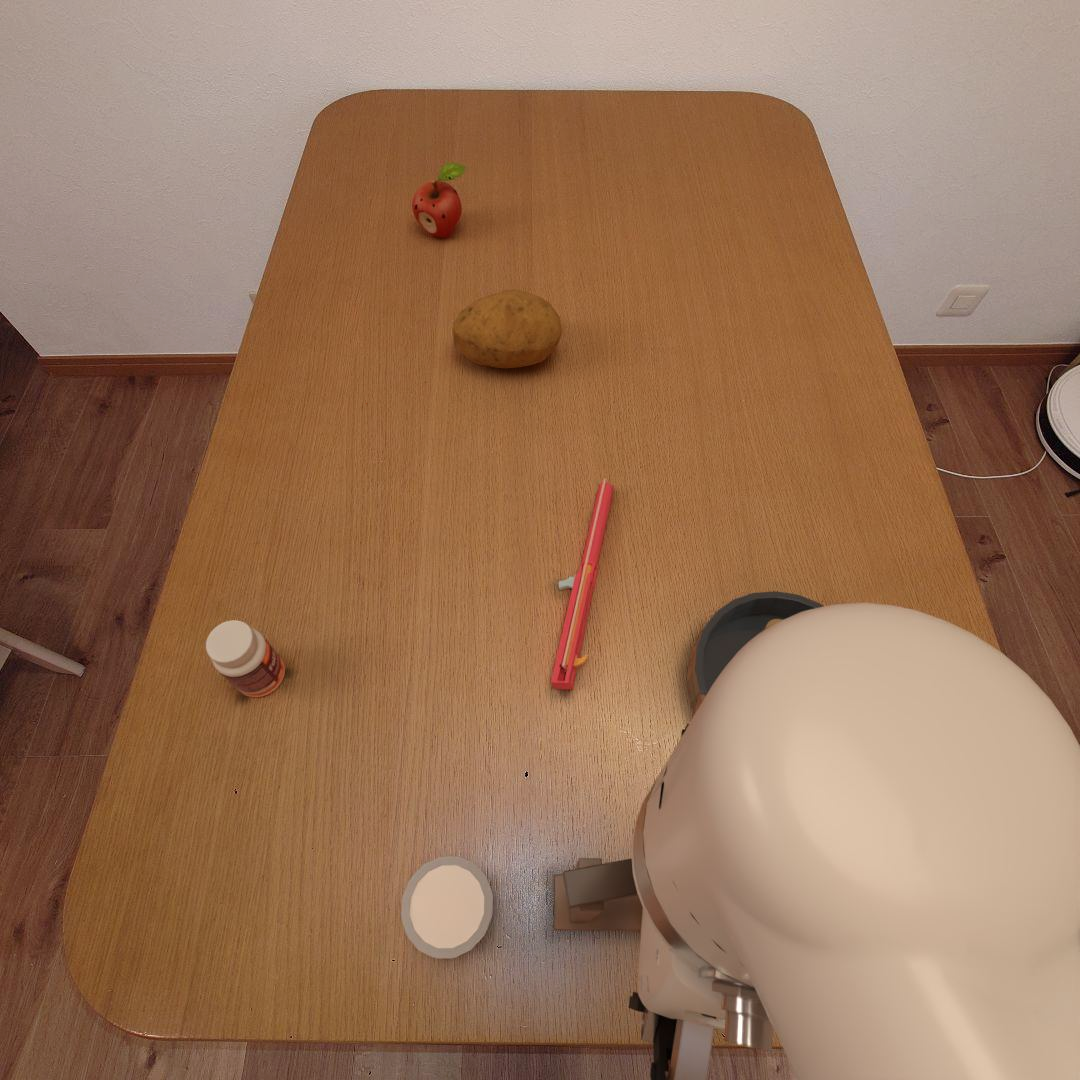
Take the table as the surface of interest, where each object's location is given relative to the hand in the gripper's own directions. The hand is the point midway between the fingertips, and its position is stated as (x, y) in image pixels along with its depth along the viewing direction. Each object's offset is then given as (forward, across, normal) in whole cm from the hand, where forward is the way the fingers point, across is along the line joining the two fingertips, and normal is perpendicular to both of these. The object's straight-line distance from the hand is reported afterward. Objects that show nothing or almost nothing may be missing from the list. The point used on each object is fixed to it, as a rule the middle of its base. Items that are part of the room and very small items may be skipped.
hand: (669, 900), depth 38 cm
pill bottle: (+24, +15, +37) cm, 47 cm away
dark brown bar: (+8, +2, 0) cm, 8 cm away
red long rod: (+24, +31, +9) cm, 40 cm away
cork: (+23, +27, -11) cm, 37 cm away
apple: (+23, +83, +38) cm, 94 cm away
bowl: (+24, +23, -11) cm, 35 cm away
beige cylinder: (+24, -2, +14) cm, 28 cm away
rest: (+24, +2, +1) cm, 24 cm away
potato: (+23, +60, +23) cm, 69 cm away
